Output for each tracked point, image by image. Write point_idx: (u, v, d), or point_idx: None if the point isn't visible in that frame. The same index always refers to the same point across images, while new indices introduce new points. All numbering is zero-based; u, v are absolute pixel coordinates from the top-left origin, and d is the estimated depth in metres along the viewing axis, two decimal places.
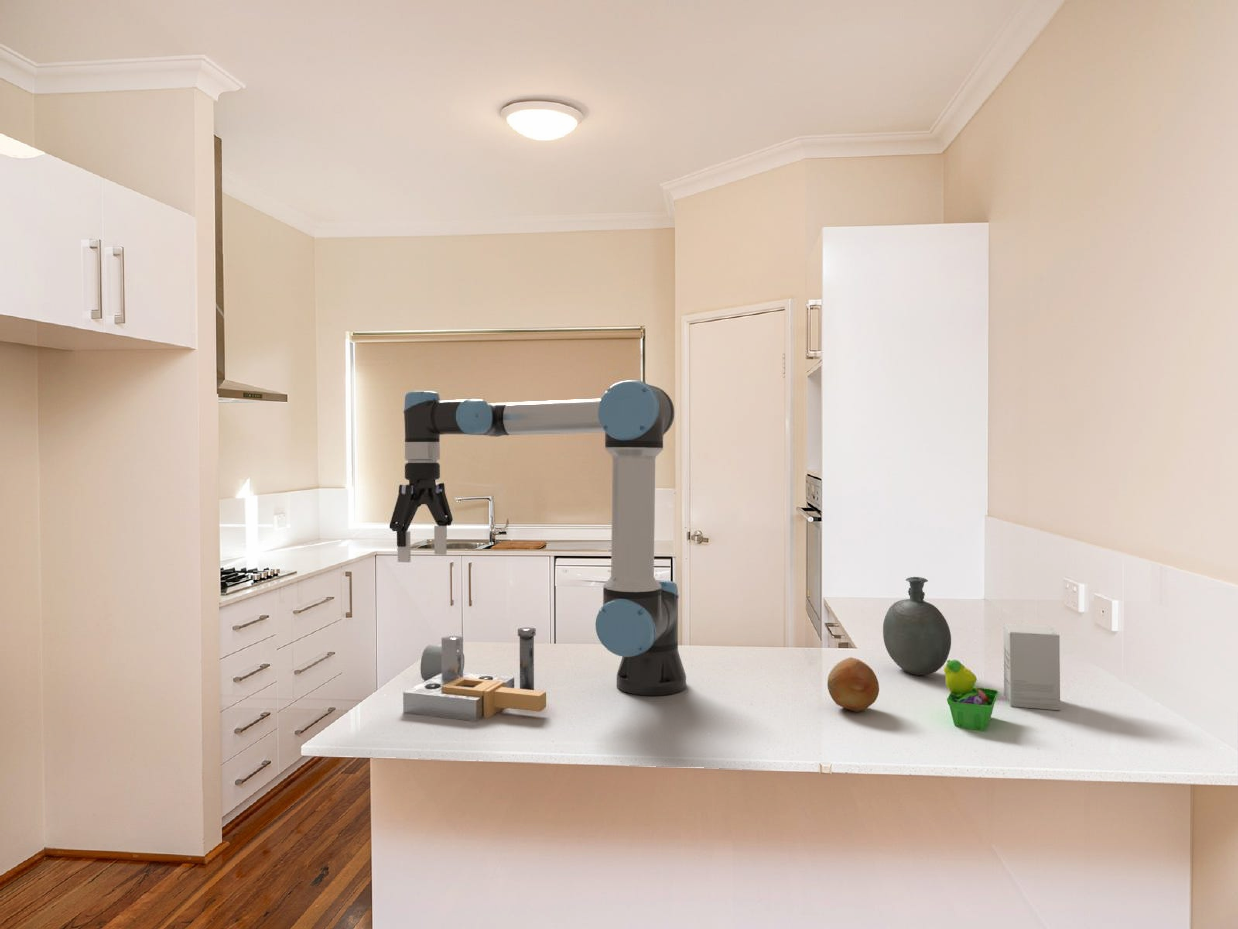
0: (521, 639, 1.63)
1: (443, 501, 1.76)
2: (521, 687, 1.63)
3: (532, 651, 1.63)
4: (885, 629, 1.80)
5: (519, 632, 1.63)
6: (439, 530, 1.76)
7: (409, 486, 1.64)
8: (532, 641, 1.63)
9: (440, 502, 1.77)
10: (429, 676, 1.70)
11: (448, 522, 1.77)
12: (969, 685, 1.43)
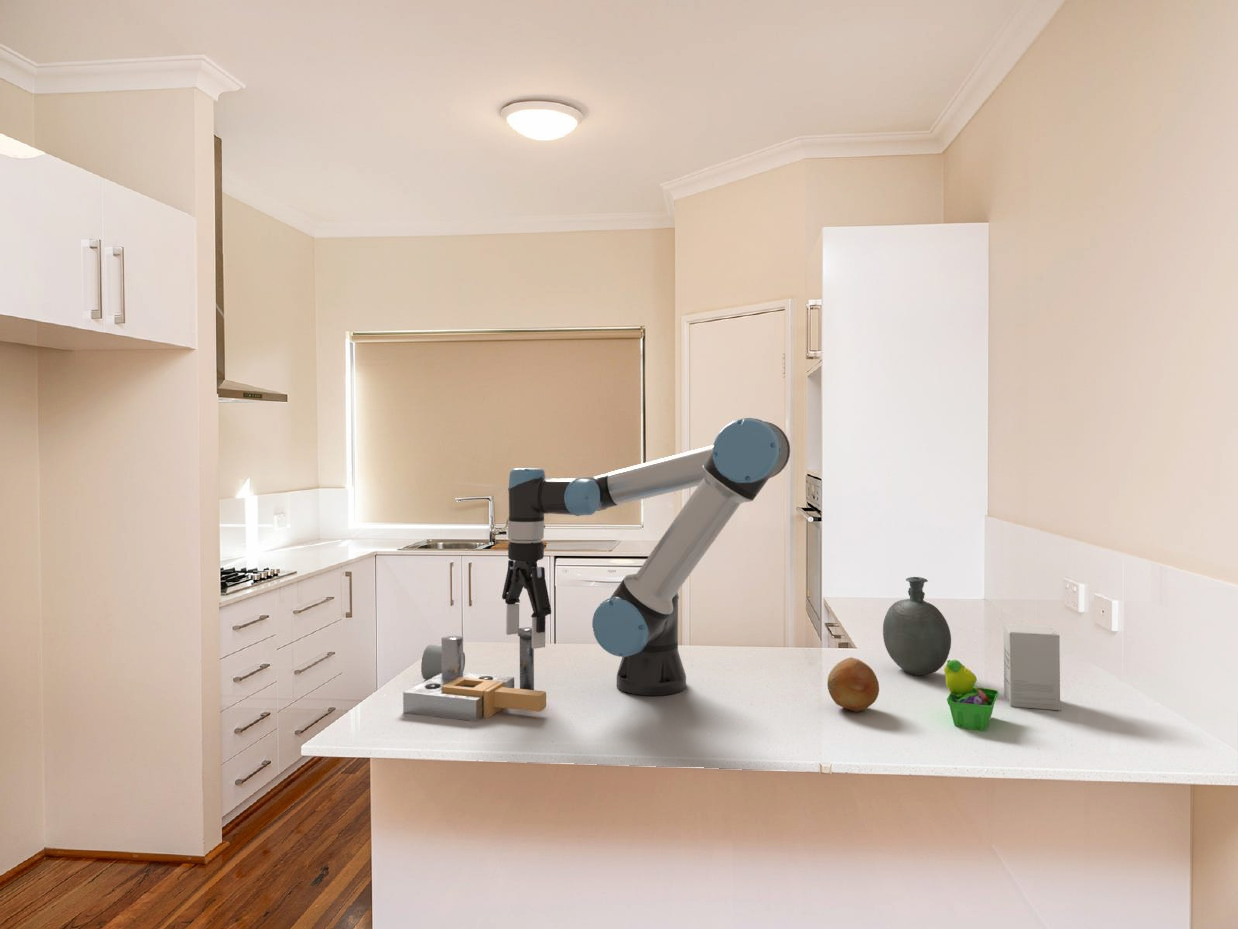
0: (521, 639, 1.63)
1: None
2: (521, 687, 1.63)
3: (532, 651, 1.63)
4: (885, 629, 1.80)
5: (519, 632, 1.63)
6: None
7: (508, 561, 1.69)
8: None
9: None
10: (430, 675, 1.70)
11: None
12: (969, 685, 1.43)
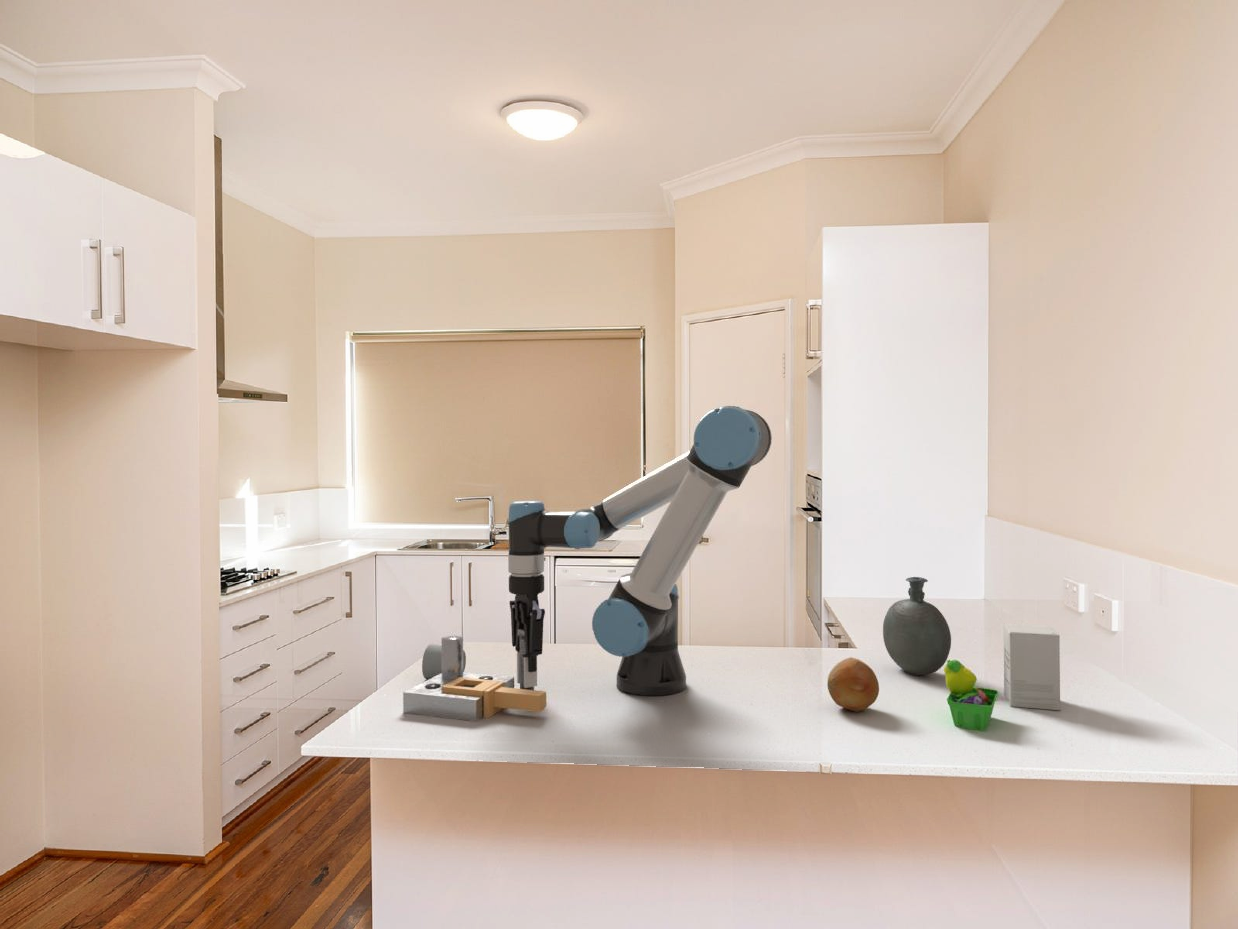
0: (521, 639, 1.63)
1: None
2: (521, 687, 1.63)
3: None
4: (885, 629, 1.80)
5: (519, 632, 1.63)
6: None
7: (509, 603, 1.69)
8: None
9: None
10: (431, 675, 1.71)
11: (525, 654, 1.61)
12: (969, 685, 1.43)
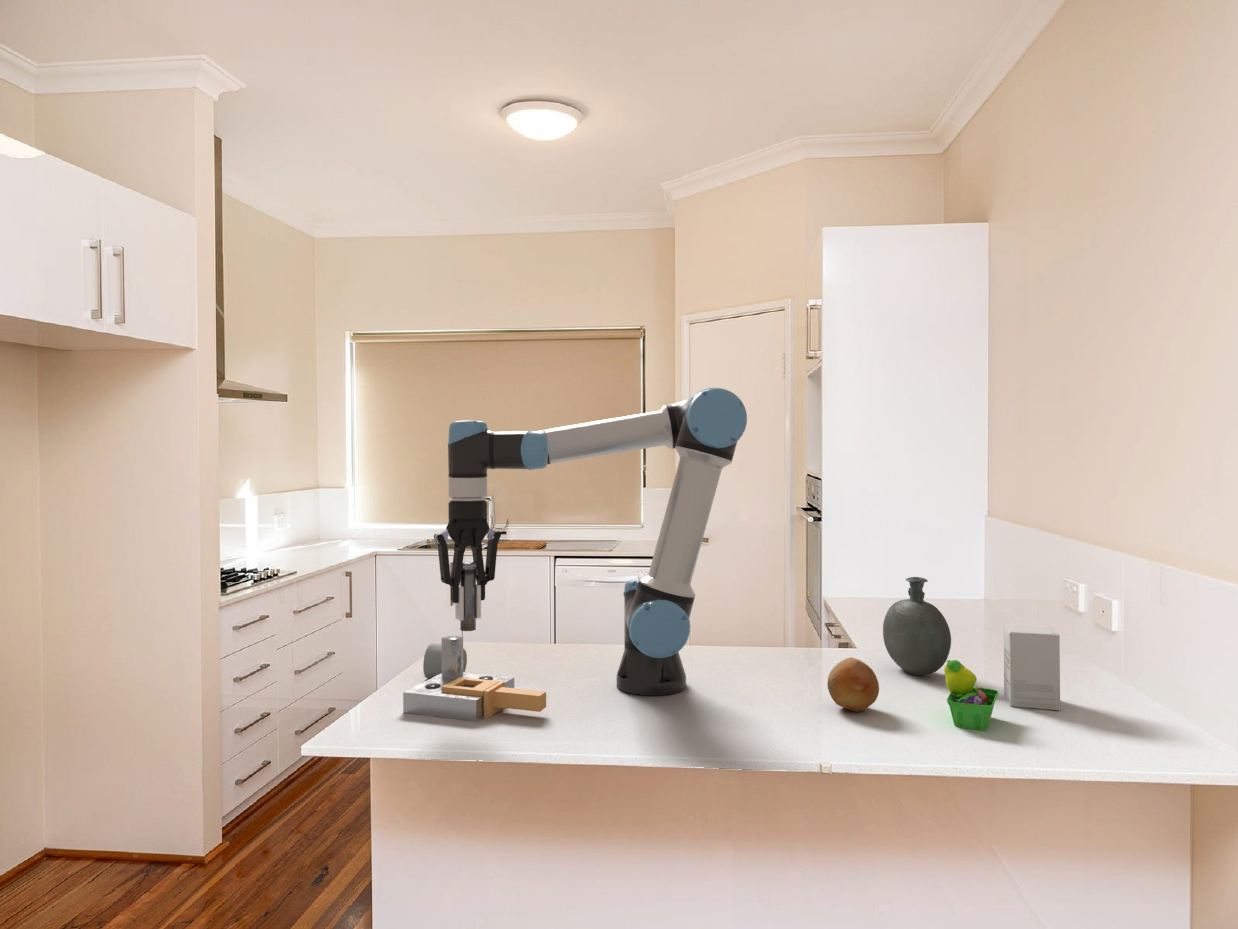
0: (472, 573, 1.52)
1: (490, 551, 1.54)
2: (473, 624, 1.52)
3: None
4: (885, 629, 1.80)
5: (473, 565, 1.51)
6: None
7: (438, 537, 1.48)
8: None
9: (489, 552, 1.55)
10: (432, 674, 1.71)
11: (484, 581, 1.53)
12: (969, 685, 1.43)
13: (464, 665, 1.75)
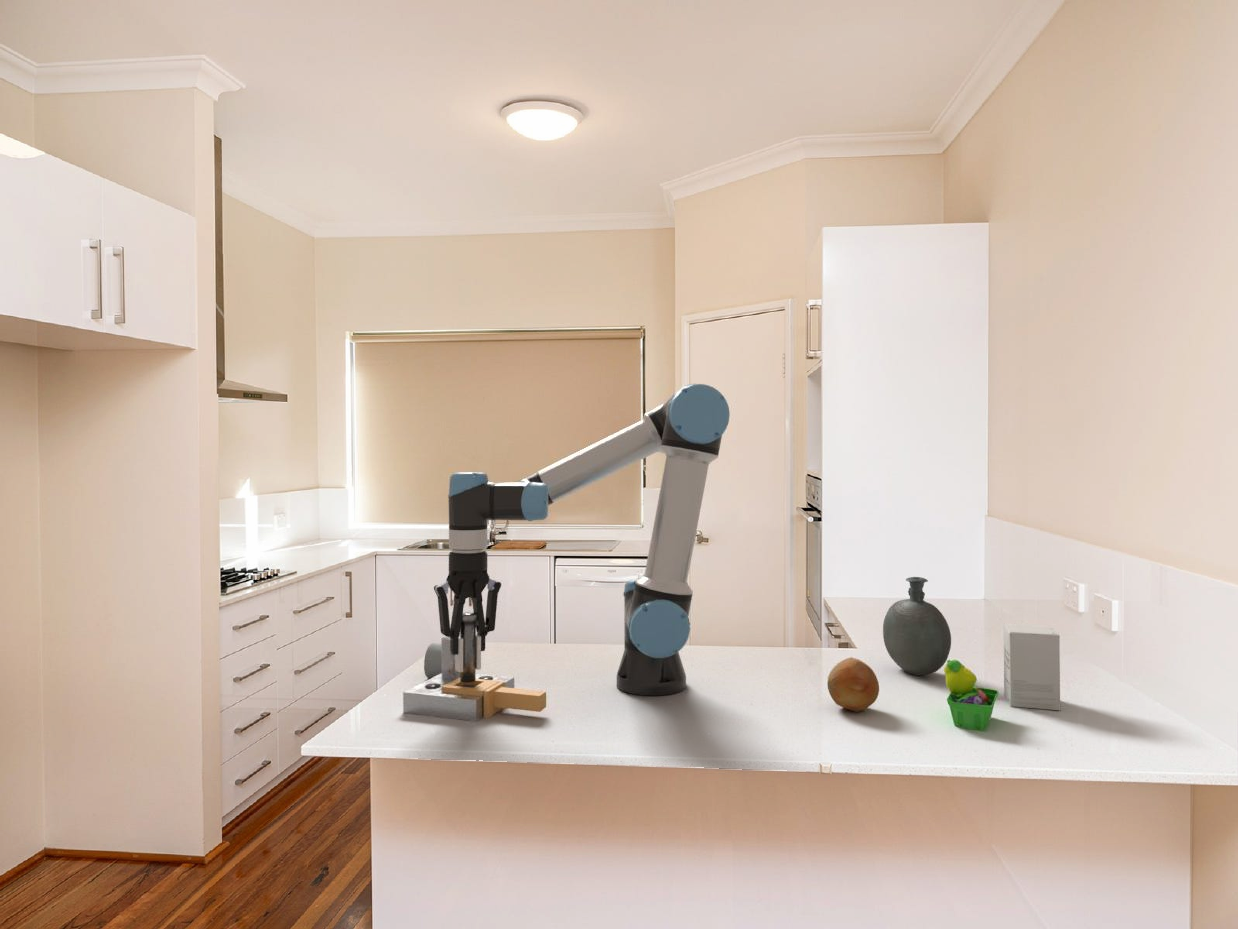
0: (472, 624, 1.52)
1: (491, 602, 1.54)
2: (472, 675, 1.52)
3: None
4: (885, 629, 1.80)
5: (473, 617, 1.51)
6: None
7: (438, 589, 1.48)
8: None
9: (489, 603, 1.55)
10: (432, 673, 1.72)
11: (484, 632, 1.53)
12: (969, 685, 1.43)
13: None
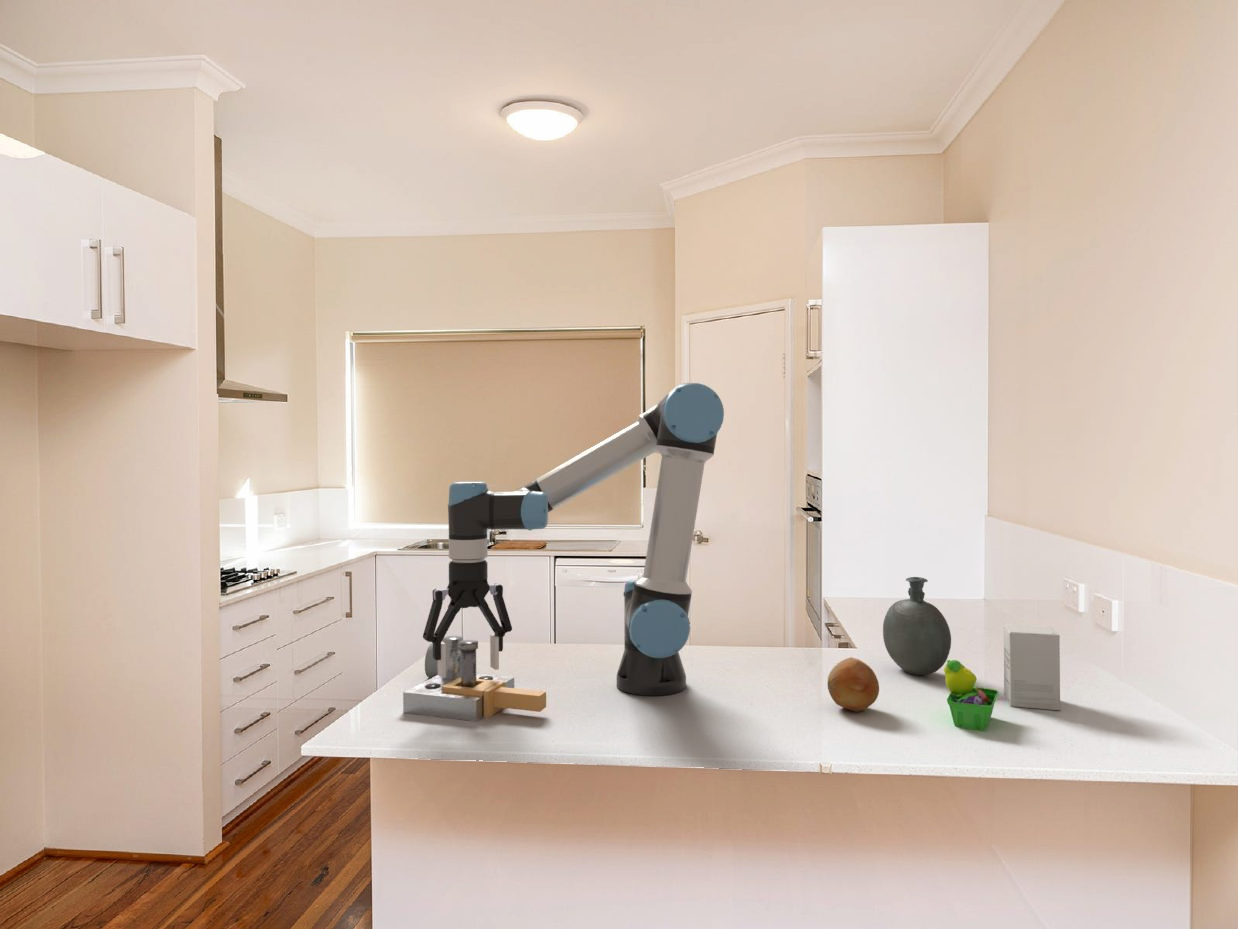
0: (473, 653, 1.52)
1: (499, 606, 1.55)
2: None
3: None
4: (885, 629, 1.80)
5: (473, 645, 1.51)
6: (492, 641, 1.55)
7: (437, 593, 1.48)
8: None
9: (497, 606, 1.56)
10: (433, 673, 1.72)
11: (502, 633, 1.55)
12: (969, 685, 1.43)
13: None
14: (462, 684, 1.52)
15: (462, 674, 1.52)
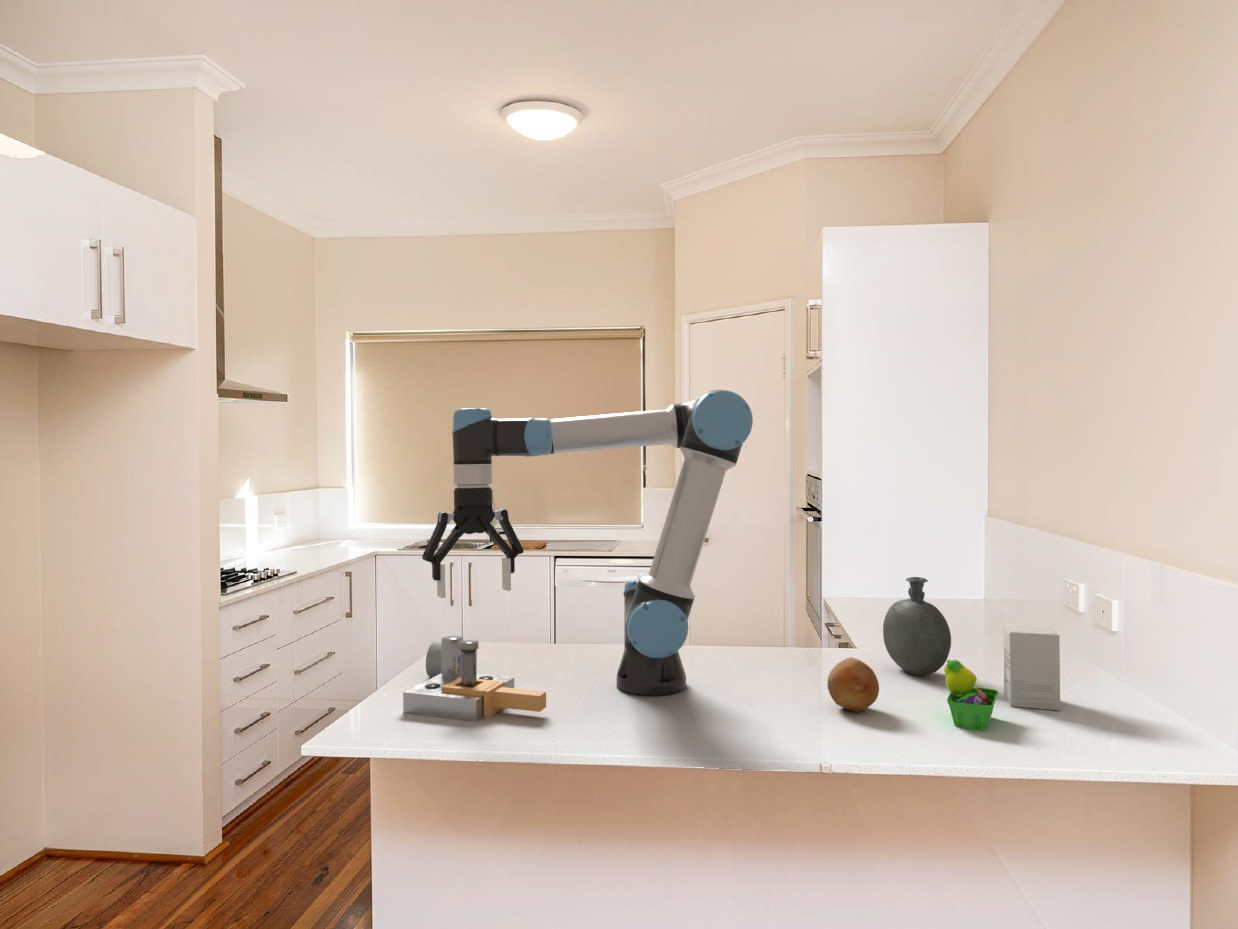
0: (473, 653, 1.52)
1: (507, 530, 1.56)
2: None
3: None
4: (885, 629, 1.80)
5: (473, 645, 1.51)
6: (504, 563, 1.57)
7: (443, 514, 1.49)
8: None
9: (505, 531, 1.57)
10: (434, 672, 1.73)
11: (513, 554, 1.56)
12: (969, 685, 1.43)
13: None
14: (462, 684, 1.52)
15: (462, 674, 1.52)
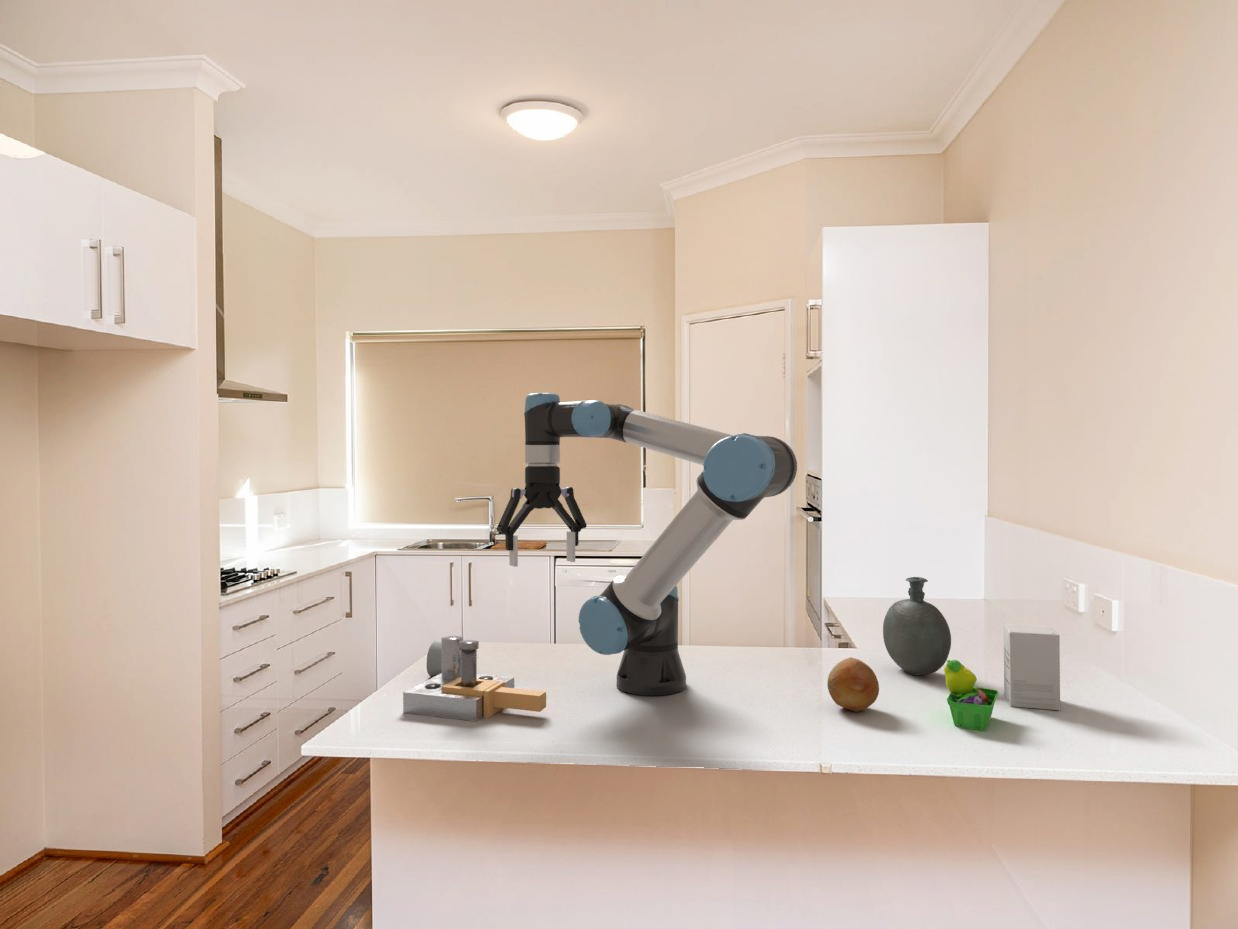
0: (473, 653, 1.52)
1: (572, 506, 1.70)
2: None
3: None
4: (885, 629, 1.80)
5: (473, 645, 1.51)
6: (569, 536, 1.70)
7: (516, 490, 1.62)
8: None
9: (571, 507, 1.70)
10: (435, 672, 1.73)
11: (578, 528, 1.70)
12: (969, 685, 1.43)
13: None
14: (462, 684, 1.52)
15: (462, 674, 1.52)
